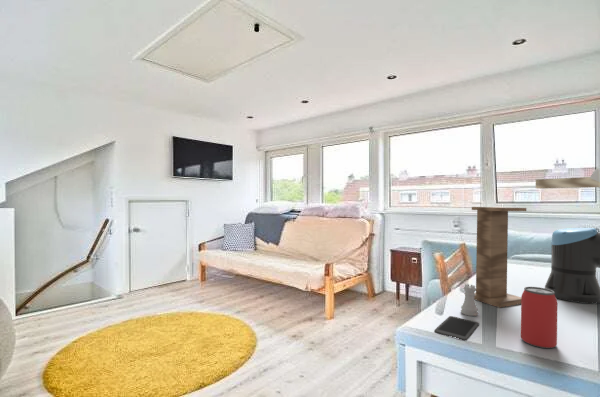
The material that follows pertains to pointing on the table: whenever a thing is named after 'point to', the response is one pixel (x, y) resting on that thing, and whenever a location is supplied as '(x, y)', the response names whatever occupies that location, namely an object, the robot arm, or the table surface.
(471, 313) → the rook chess piece
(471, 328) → the cell phone
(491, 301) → the shelf stand
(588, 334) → the table surface
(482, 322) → the table surface
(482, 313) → the table surface
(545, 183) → the ash bar
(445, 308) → the table surface
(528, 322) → the beer can
